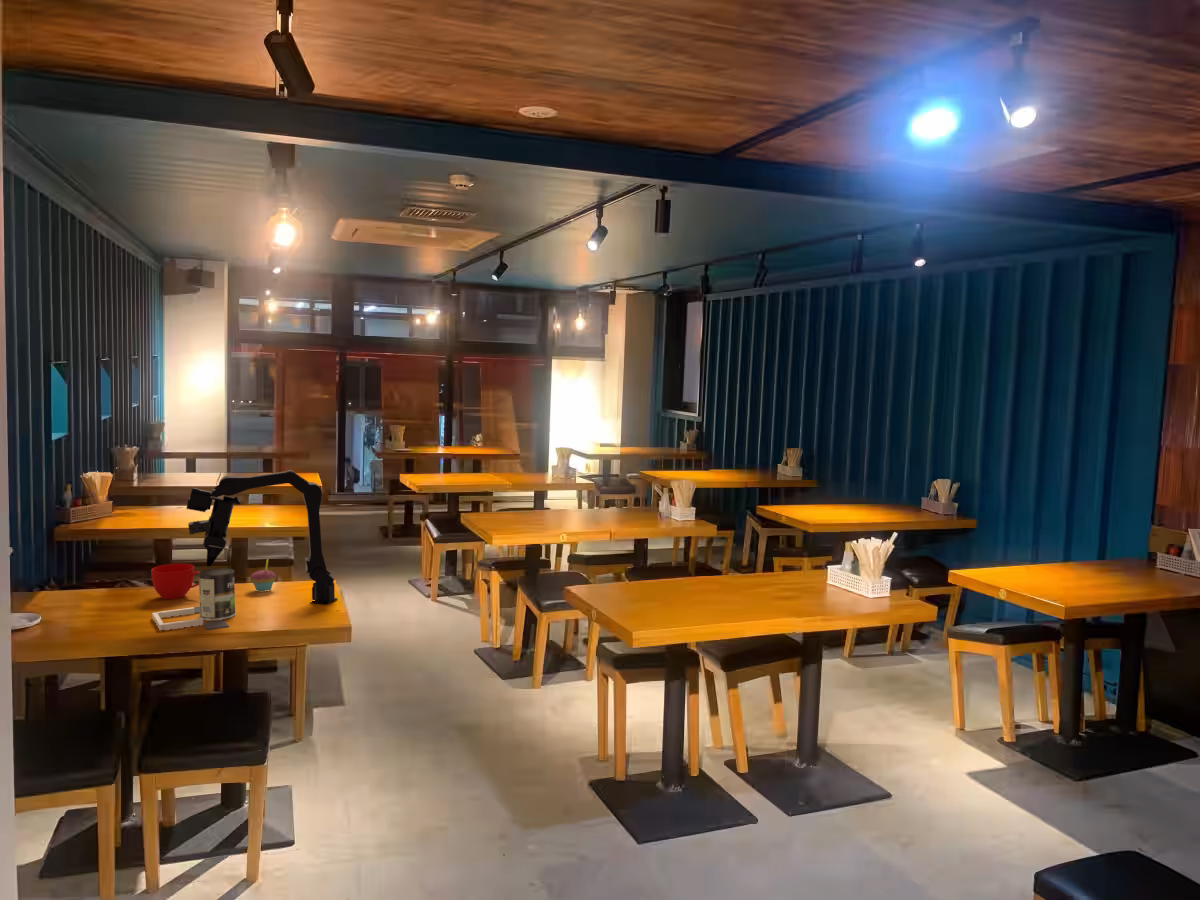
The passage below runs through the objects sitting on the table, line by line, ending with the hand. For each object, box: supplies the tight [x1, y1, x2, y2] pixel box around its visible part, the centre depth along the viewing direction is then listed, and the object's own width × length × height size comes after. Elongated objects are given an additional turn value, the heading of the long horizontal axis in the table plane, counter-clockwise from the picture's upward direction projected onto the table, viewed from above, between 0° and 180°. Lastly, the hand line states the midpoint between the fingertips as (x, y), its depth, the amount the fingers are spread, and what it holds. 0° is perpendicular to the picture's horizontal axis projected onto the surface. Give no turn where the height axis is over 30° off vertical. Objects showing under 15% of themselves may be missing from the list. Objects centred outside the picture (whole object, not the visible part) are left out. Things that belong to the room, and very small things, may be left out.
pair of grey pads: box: [193, 606, 230, 631], centre depth 269 cm, size 6×27×1 cm, turn 35°
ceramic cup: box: [150, 563, 201, 600], centre depth 291 cm, size 13×17×10 cm
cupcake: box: [249, 558, 277, 591], centre depth 301 cm, size 9×8×12 cm
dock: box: [151, 606, 204, 631], centre depth 264 cm, size 12×15×2 cm
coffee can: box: [197, 567, 236, 622], centre depth 269 cm, size 10×10×14 cm
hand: (208, 563), depth 274 cm, fingers open, 9 cm apart
